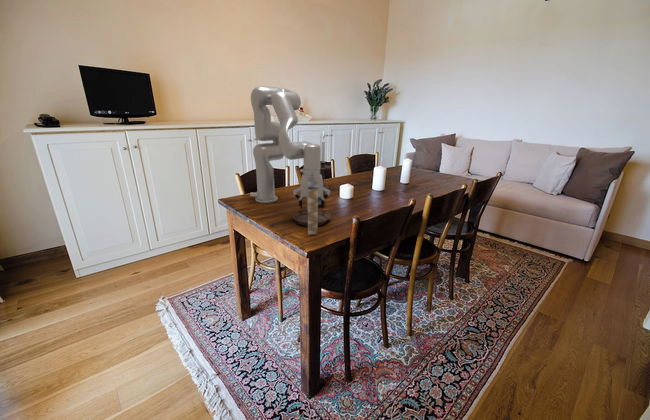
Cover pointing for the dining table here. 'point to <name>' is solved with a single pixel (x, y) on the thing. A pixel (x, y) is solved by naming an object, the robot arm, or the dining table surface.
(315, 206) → the post front
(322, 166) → the candlestick
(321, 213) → the plant saucer
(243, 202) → the dining table surface
